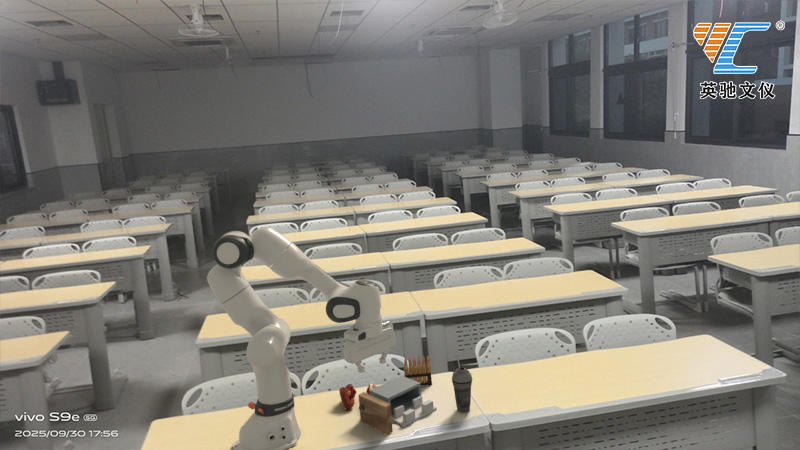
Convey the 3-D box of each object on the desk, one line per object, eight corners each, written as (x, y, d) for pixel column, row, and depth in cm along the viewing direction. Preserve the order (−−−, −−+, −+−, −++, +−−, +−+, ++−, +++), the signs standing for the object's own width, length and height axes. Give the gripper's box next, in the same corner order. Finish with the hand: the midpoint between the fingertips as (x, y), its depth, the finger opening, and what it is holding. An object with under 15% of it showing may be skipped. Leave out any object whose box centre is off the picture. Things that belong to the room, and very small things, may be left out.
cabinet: (404, 426, 201) (402, 404, 200) (370, 411, 214) (369, 390, 213) (436, 409, 212) (435, 388, 210) (403, 395, 224) (401, 375, 223)
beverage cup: (471, 415, 205) (468, 361, 202) (451, 413, 208) (448, 359, 205) (475, 406, 212) (473, 353, 209) (455, 404, 215) (453, 351, 211)
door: (384, 436, 196) (382, 408, 194) (357, 422, 206) (355, 395, 204) (392, 432, 198) (390, 404, 197) (366, 418, 208) (364, 392, 207)
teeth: (379, 388, 214) (337, 391, 214) (380, 409, 215) (339, 412, 215) (380, 377, 225) (340, 380, 225) (381, 397, 226) (342, 400, 226)
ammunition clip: (405, 387, 231) (403, 358, 229) (404, 385, 233) (402, 357, 231) (432, 385, 232) (430, 356, 230) (431, 383, 234) (429, 354, 232)
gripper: (386, 318, 206) (388, 355, 209) (339, 334, 193) (342, 374, 195) (398, 321, 202) (401, 360, 204) (351, 338, 188) (355, 379, 190)
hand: (372, 367), depth 199 cm, fingers open, 8 cm apart
